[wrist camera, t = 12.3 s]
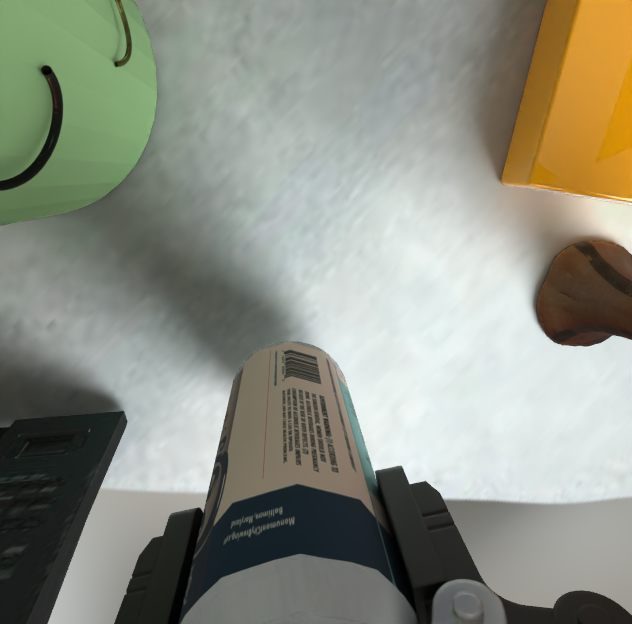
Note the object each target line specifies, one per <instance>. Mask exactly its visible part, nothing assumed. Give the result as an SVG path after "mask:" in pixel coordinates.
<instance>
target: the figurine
mask: <svg viewBox="0 0 632 624" xmlns="http://www.w3.org/2000/svg"><path fill="white" fill-rule="evenodd" d="M550 268H551V269H550V270H549V273H548V275H547V277H546V280H545V282H544V284H543V287H542V289H541V290H540V294H539V298H538V300H537V313H538V316H539V320H540V324H541V327H542V328H543V330H544V331H545V333H546V335H547V336H548V337H549V338H550V339H551V340H552V341H553V342H555V343H558V344H561V345H569V346H591V345H594V344H598V343H601V342H603V341H605V340H606V339H608V338H609V337H611V336H612V335H616V336H621V337H624V338H627V339H631V340H632V255H631V254H630V253H629V252H628V251H627V250H626V249H625V248H623V247H621V246H619V245H614V244H612V243H608V242H601V241H592V242H590V241H584V242H580V243H577V244H573V245H572V246H570V247H568V248H567V249H565V250H563V251H561V252H560V253H559V255H558V256H556V257H555V260H554V261H553V262H552V264H551V267H550Z"/></svg>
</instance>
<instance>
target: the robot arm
mask: <svg viewBox="0 0 632 624" xmlns="http://www.w3.org/2000/svg"><path fill="white" fill-rule="evenodd" d="M375 474H376V480H377V486H378V490H379V493H380V496H381V500H382V503H383V506H384V510H385V513H386V516H387V520H388V523H389V526H390V529H391V533H392V536H393V539H394V543H395V546H396V549H397V552H398V556H399V559H400V562H401V566H402V569H403V572H404V576H405V579H406V582H407V585H408V589H409V592H410V595H411V599H412V602H413V605H414V609H415V612H416V614H417V619H418V623H419V624H632V615H631V614H629V612H627V611H626V610H625V609H624V608H623V607H621V606H620V605H619V604H617V603H616V602H614V601H613V600H611V599H609V598H607V597H605V596H603V595H600V594H597V593H594V592H590V591H573V592H568V593H566V594H564V595H562V596H561V597H560V598H559V599H558V600H557V601H556V603H555V605H554V608H553V609H552V608H543V607H534V606H525V605H520V604H517V603H513V602H511V601H508V600H506V599H504V598H502V597H501V596H499V595H497V594H496V593H495V592H493V591H492V590H491V589H490V588H489V587H488V586H487V585H486V584H485V582H484V581H483V579H482V578H481V576H480V574H479V572H478V570H477V568H476V566H475V564H474V562H473V560H472V558H471V556H470V554H469V552H468V550H467V547H466V545H465V543H464V542H463V539H462V537H461V535H460V533H459V531H458V529H457V527H456V525H455V524H454V521H453V519H452V517H451V515H450V513H449V512H448V509H447V507H446V505H445V503H444V501H443V499H442V496H441V494H440V493H439V492H438V491H437V490H436V489H434V488H433V487H432V486H431V485H430V484H428V483H427V482H426V481H424V482H419V483H414V484H410V485H409V482H408V480H407V477H406V475H405V472H404V470H403V468H402V466H396V467H392V468H387V469H382V470H377V471H375ZM202 517H203V512H202V510H201V509H200V508H194V509H189V510H185V511H180V512H175V513H172V514H171V515H170V517H169V519H168V522H167V525H166V528H165V532H164V535H163V536H160V537H155V538H153V539H152V540H151V541H150V542H149V544H148V545H147V546H146V548H145V549H144V550H143V552H142V553H141V554H140V555H139V558H138V560H137V563H136V566H135V569H134V571H133V574H132V579H130V582H129V585H128V588H127V594H126V595H125V596H124V599H123V601H122V604H121V607H120V610H119V612H118V615H117V618H116V620H115V623H114V624H178V623H179V619H180V615H181V610H182V606H183V601H184V597H185V592H186V588H187V584H188V579H189V575H190V570H191V566H192V562H193V557H194V553H195V548H196V544H197V539H198V535H199V531H200V526H201V522H202Z"/></svg>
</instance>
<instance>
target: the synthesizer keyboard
mask: <svg viewBox="0 0 632 624" xmlns="http://www.w3.org/2000/svg"><path fill="white" fill-rule="evenodd" d="M126 425H127V419H126V416H125V413H124V411H119V412H106V413H94V414H81V415H69V416H56V417H44V418H31V419H19V420H15V421H14V423H13V424H12V425H11V426H10V427H4V428H0V624H47V623H48V621H49V618H50V615H51V613H52V610H53V607H54V605H55V602H56V599H57V597H58V594H59V591H60V589H61V586H62V583H63V581H64V578H65V575H66V572H67V570H68V567H69V565H70V562H71V559H72V557H73V554H74V551H75V549H76V546H77V544H78V541H79V538H80V536H81V533H82V530H83V527H84V525H85V522H86V520H87V517H88V515H89V512H90V510H91V508H92V505H93V503H94V501H95V498H96V496H97V493H98V491H99V489H100V487H101V484H102V482H103V480H104V477H105V475H106V473H107V470H108V468H109V465H110V463H111V461H112V458H113V456H114V454H115V451H116V449H117V447H118V444H119V442H120V440H121V437H122V435H123V433H124V430H125V428H126Z"/></svg>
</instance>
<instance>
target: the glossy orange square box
mask: <svg viewBox="0 0 632 624" xmlns="http://www.w3.org/2000/svg"><path fill="white" fill-rule="evenodd" d="M501 184H502V185H506V186H513V187H519V188H525V189H532V190H538V191H544V192H550V193H557V194H563V195H569V196H575V197H582V198H588V199H594V200H601V201H607V202H613V203H619V204H626V205H632V0H547V2H546V6H545V10H544V14H543V18H542V22H541V26H540V29H539V33H538V37H537V41H536V45H535V49H534V53H533V57H532V61H531V65H530V69H529V73H528V76H527V80H526V84H525V88H524V92H523V96H522V100H521V104H520V108H519V112H518V116H517V120H516V123H515V127H514V131H513V135H512V139H511V143H510V147H509V151H508V155H507V159H506V163H505V167H504V170H503V174H502V178H501Z"/></svg>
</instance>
